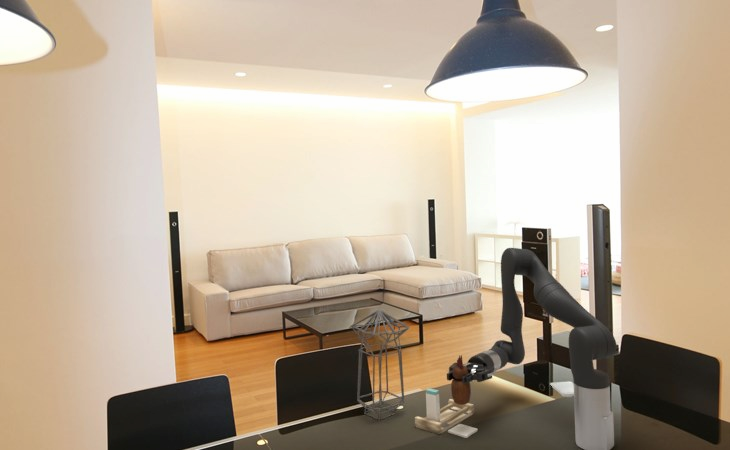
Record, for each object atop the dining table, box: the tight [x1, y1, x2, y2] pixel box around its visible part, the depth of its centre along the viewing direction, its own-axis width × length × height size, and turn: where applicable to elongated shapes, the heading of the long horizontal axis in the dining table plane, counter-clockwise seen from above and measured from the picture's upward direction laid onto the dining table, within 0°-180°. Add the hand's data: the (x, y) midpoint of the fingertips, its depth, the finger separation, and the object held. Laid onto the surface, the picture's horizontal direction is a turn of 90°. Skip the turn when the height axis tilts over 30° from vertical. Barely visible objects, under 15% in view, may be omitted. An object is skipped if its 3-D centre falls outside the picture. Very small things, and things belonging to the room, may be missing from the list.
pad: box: [447, 423, 478, 439], centre depth 156 cm, size 6×6×1 cm
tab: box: [425, 388, 441, 422], centre depth 161 cm, size 4×2×10 cm, turn 47°
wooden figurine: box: [450, 355, 472, 405], centre depth 156 cm, size 7×6×15 cm
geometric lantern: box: [348, 309, 410, 421], centre depth 172 cm, size 16×16×35 cm
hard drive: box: [549, 381, 574, 398], centre depth 187 cm, size 2×8×12 cm
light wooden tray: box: [414, 398, 475, 435], centre depth 165 cm, size 9×20×3 cm, turn 137°
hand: (455, 378), depth 154 cm, fingers closed on wooden figurine, 4 cm apart
